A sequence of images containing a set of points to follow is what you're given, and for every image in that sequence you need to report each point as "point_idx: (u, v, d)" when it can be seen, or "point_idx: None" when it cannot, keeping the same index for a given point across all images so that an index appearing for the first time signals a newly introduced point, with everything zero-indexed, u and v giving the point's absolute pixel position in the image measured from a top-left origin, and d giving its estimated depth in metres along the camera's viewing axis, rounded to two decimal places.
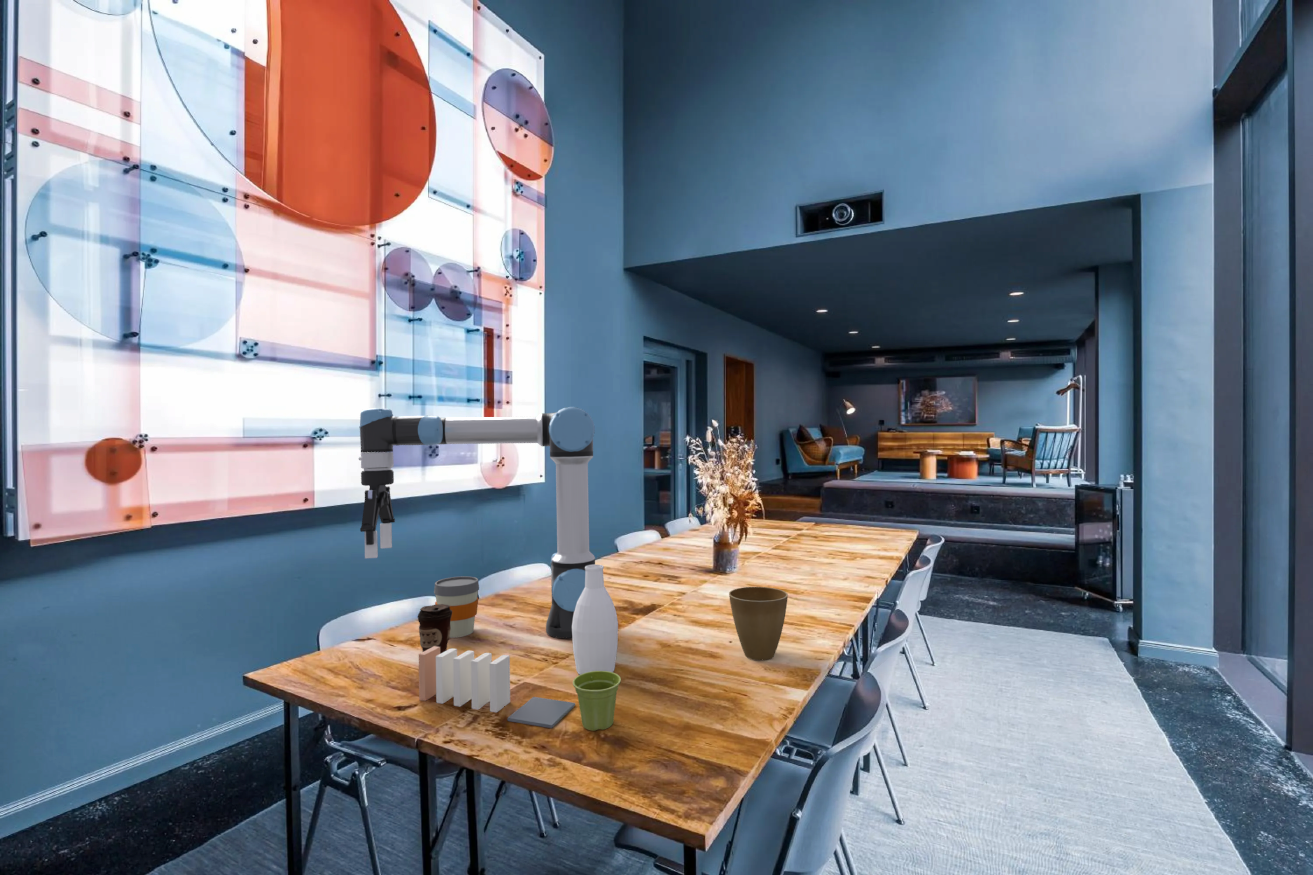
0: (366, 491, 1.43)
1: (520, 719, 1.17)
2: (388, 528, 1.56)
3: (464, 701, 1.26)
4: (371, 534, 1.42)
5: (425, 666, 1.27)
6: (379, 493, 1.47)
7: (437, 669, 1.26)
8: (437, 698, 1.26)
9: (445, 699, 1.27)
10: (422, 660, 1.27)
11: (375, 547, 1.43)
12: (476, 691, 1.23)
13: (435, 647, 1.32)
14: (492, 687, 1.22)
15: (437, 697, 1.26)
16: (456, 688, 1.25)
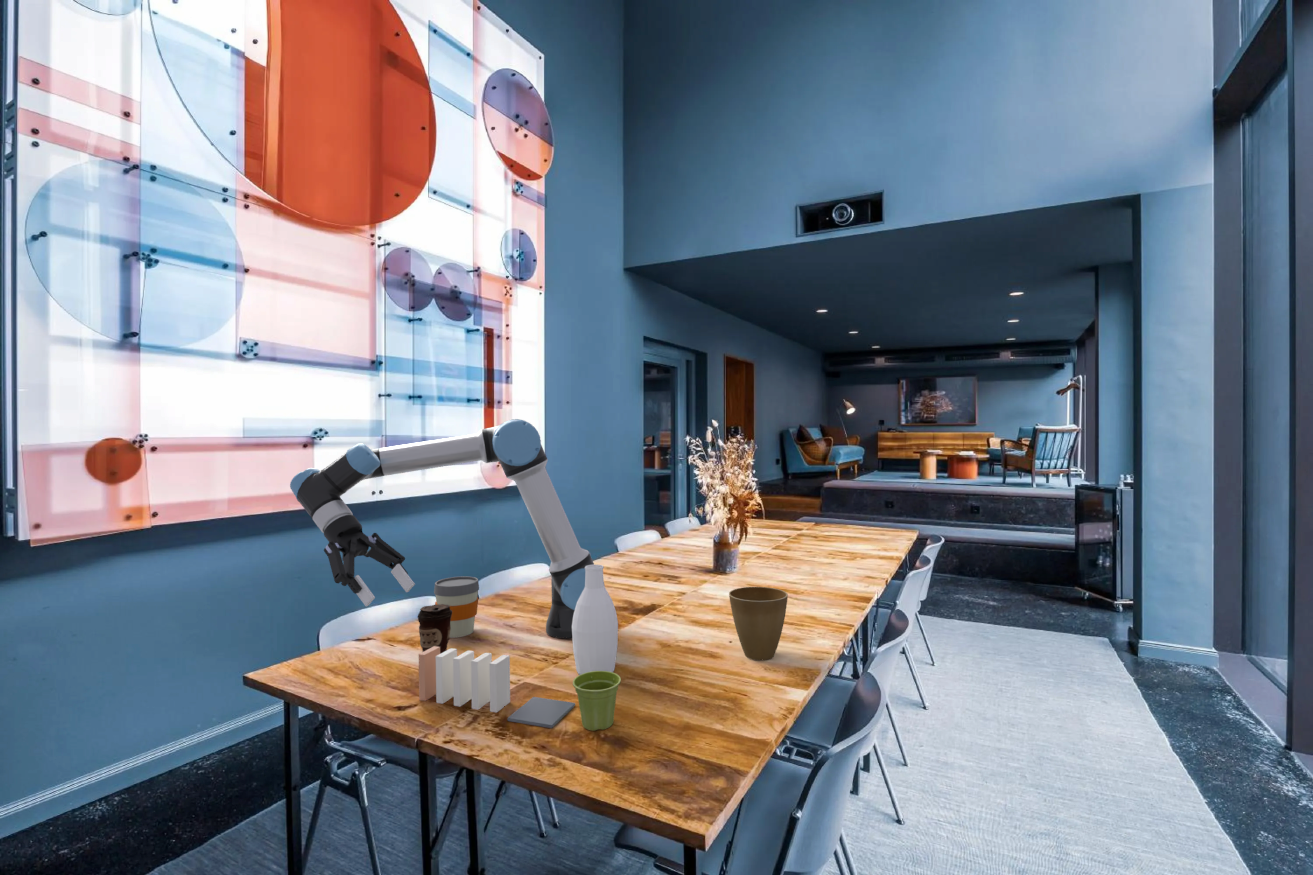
0: None
1: (520, 719, 1.17)
2: (398, 570, 1.40)
3: (464, 701, 1.26)
4: (351, 581, 1.27)
5: (425, 666, 1.27)
6: (345, 541, 1.34)
7: (437, 669, 1.26)
8: (437, 698, 1.26)
9: (445, 699, 1.27)
10: (422, 660, 1.27)
11: (365, 590, 1.27)
12: (476, 691, 1.23)
13: (435, 647, 1.32)
14: (492, 687, 1.22)
15: (437, 697, 1.26)
16: (456, 688, 1.25)
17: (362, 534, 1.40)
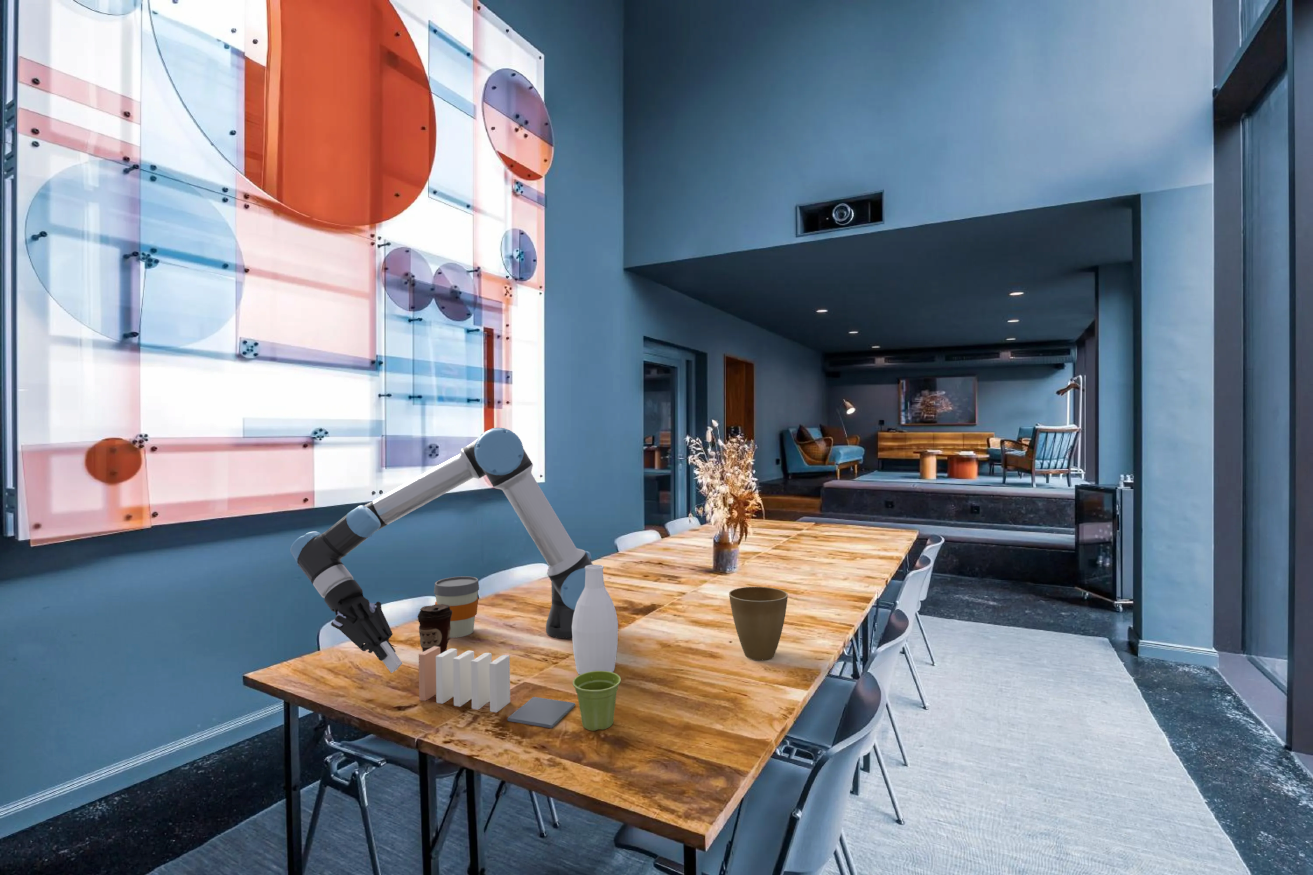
0: (332, 623, 1.31)
1: (520, 719, 1.17)
2: None
3: (464, 701, 1.26)
4: (377, 649, 1.32)
5: (425, 666, 1.27)
6: (345, 607, 1.34)
7: (437, 669, 1.26)
8: (437, 698, 1.26)
9: (445, 699, 1.27)
10: (422, 660, 1.27)
11: (390, 657, 1.32)
12: (476, 691, 1.23)
13: (435, 647, 1.32)
14: (492, 687, 1.22)
15: (437, 697, 1.26)
16: (456, 688, 1.25)
17: (365, 598, 1.40)
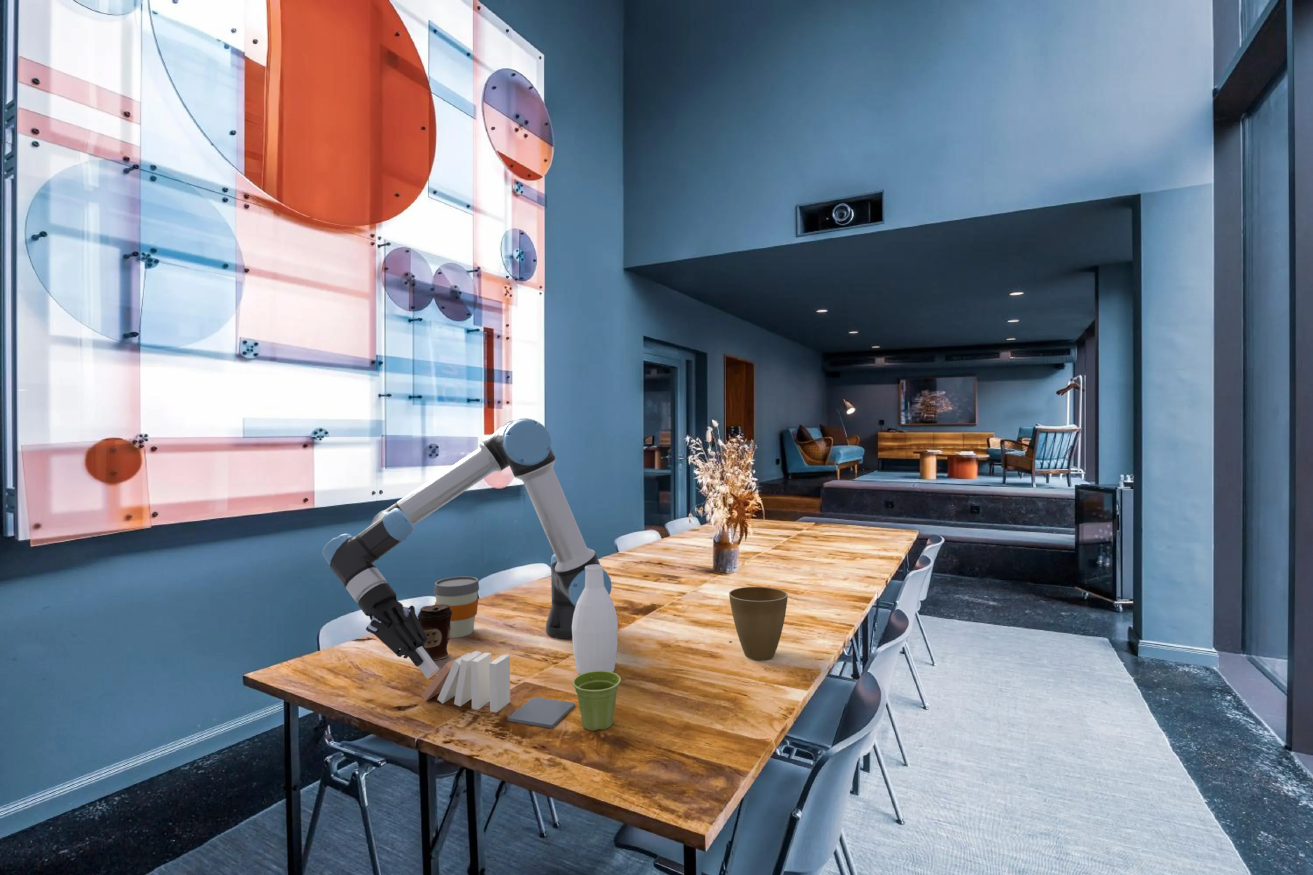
0: (367, 628, 1.27)
1: (520, 719, 1.17)
2: None
3: (464, 701, 1.26)
4: (413, 654, 1.29)
5: (444, 677, 1.26)
6: (380, 612, 1.31)
7: (450, 672, 1.25)
8: (439, 696, 1.26)
9: (446, 699, 1.27)
10: (445, 671, 1.25)
11: (426, 663, 1.29)
12: (476, 691, 1.23)
13: None
14: (492, 687, 1.22)
15: (439, 695, 1.26)
16: (459, 688, 1.24)
17: None
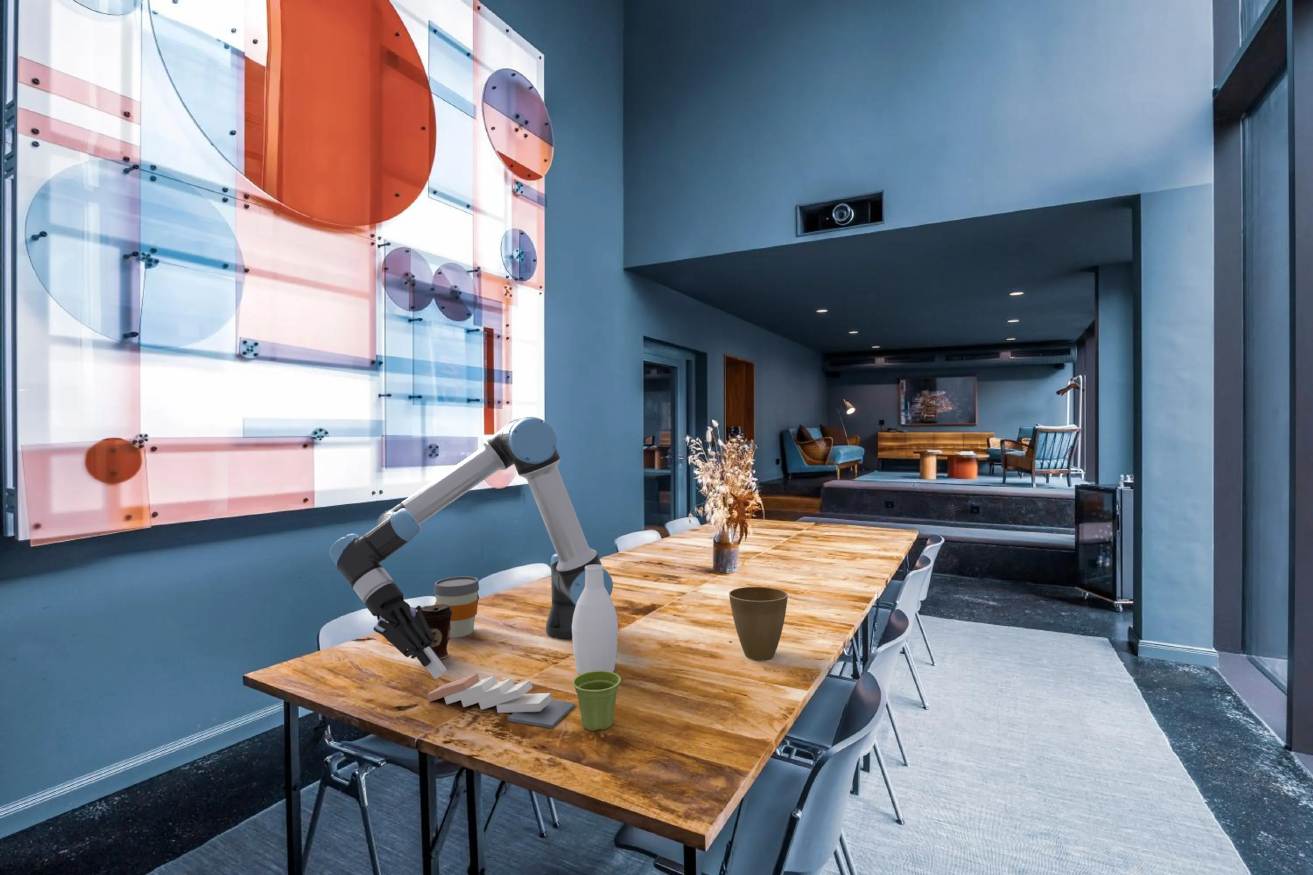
0: (374, 629, 1.27)
1: (520, 719, 1.17)
2: None
3: None
4: (420, 654, 1.28)
5: (456, 692, 1.25)
6: (387, 612, 1.30)
7: (471, 690, 1.23)
8: (447, 697, 1.25)
9: None
10: (459, 688, 1.24)
11: (434, 663, 1.28)
12: (494, 703, 1.21)
13: (476, 678, 1.28)
14: (518, 707, 1.20)
15: (448, 696, 1.25)
16: (475, 698, 1.23)
17: (405, 602, 1.36)
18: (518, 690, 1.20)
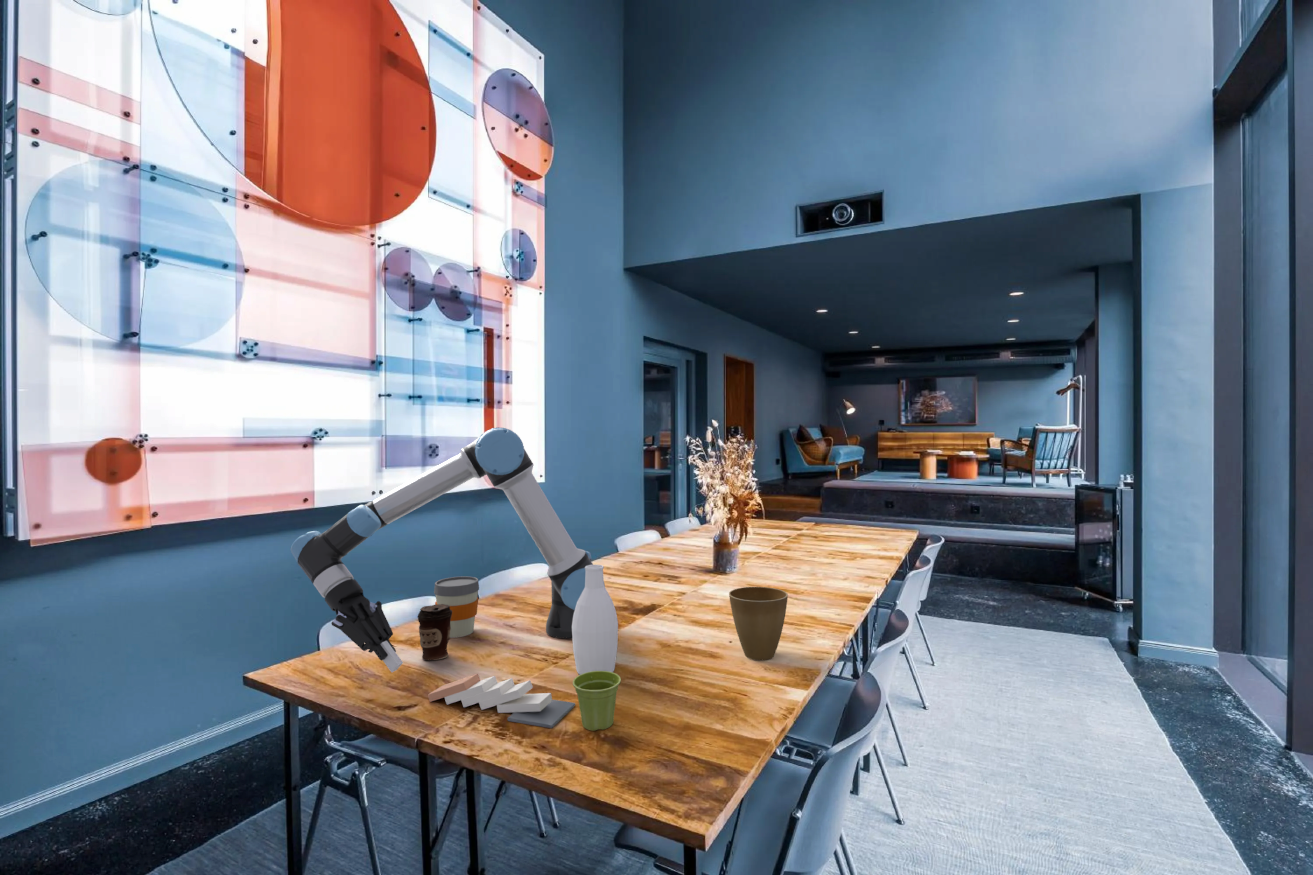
0: (332, 623, 1.31)
1: (520, 719, 1.17)
2: None
3: None
4: (377, 648, 1.32)
5: (457, 692, 1.25)
6: (346, 607, 1.34)
7: (471, 690, 1.23)
8: (448, 697, 1.25)
9: None
10: (460, 688, 1.24)
11: (391, 657, 1.32)
12: (495, 703, 1.21)
13: (477, 678, 1.28)
14: (518, 707, 1.20)
15: (449, 696, 1.25)
16: (476, 698, 1.23)
17: None
18: (518, 690, 1.20)
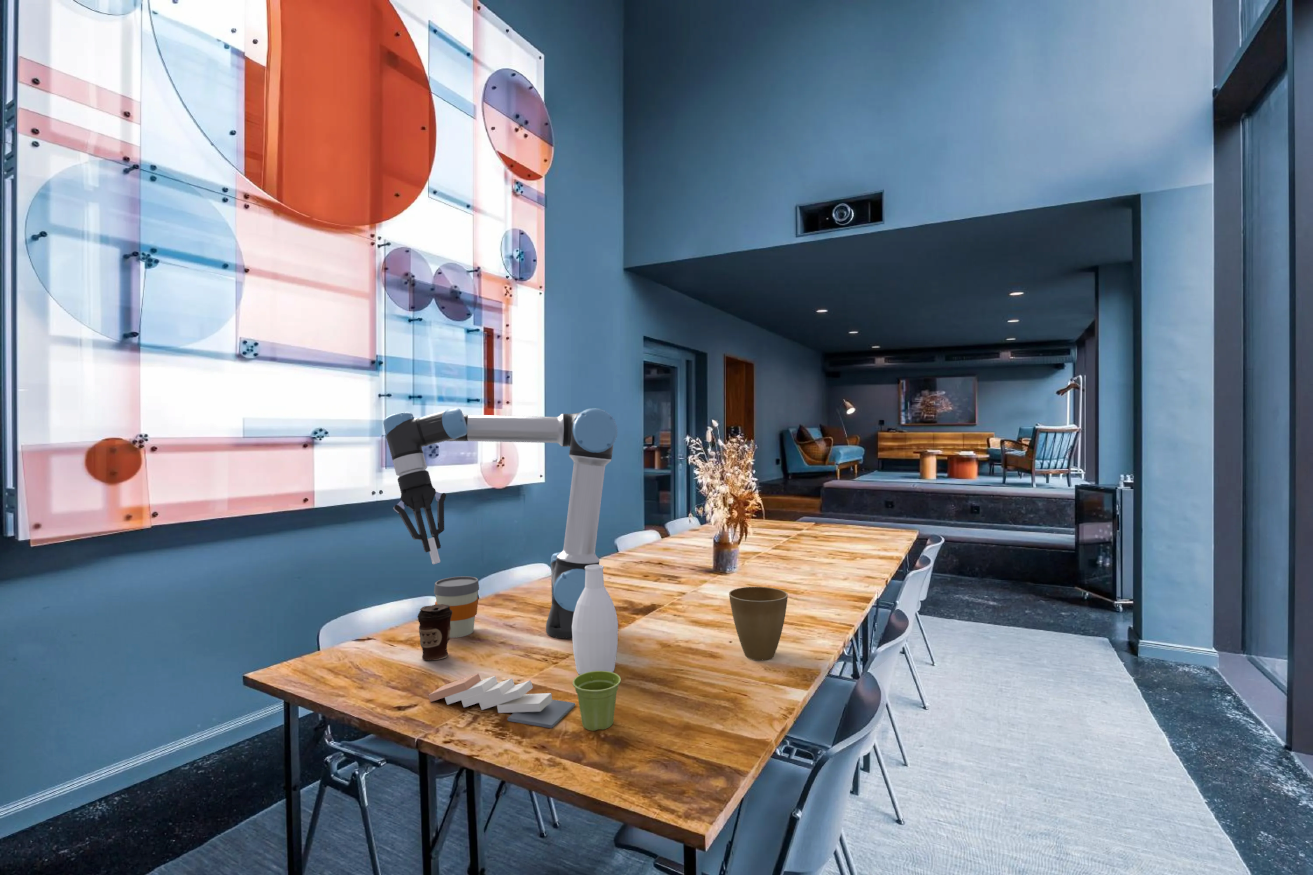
0: (393, 508, 1.46)
1: (520, 719, 1.17)
2: None
3: None
4: (423, 542, 1.47)
5: (457, 692, 1.25)
6: (407, 497, 1.47)
7: (471, 690, 1.23)
8: (448, 697, 1.25)
9: None
10: (460, 688, 1.24)
11: (431, 554, 1.47)
12: (495, 703, 1.21)
13: (478, 678, 1.28)
14: (518, 707, 1.20)
15: (449, 696, 1.25)
16: (476, 698, 1.23)
17: (432, 488, 1.50)
18: (518, 690, 1.20)
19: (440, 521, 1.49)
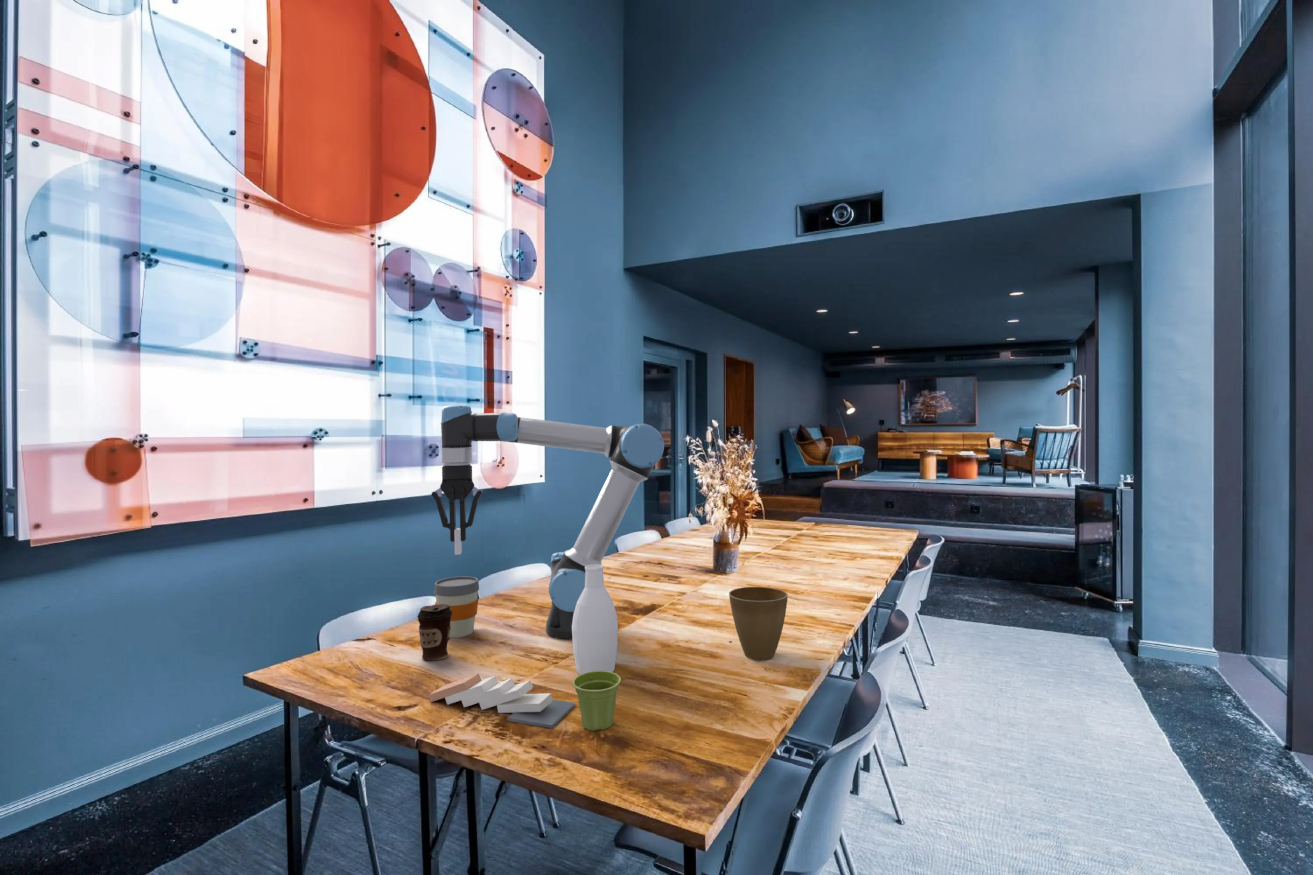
0: None
1: (520, 719, 1.17)
2: None
3: None
4: (450, 532, 1.54)
5: (458, 692, 1.25)
6: (445, 486, 1.53)
7: (471, 690, 1.23)
8: (448, 697, 1.25)
9: None
10: (461, 688, 1.24)
11: None
12: (495, 703, 1.21)
13: (478, 677, 1.28)
14: (518, 707, 1.20)
15: (449, 696, 1.25)
16: (476, 698, 1.23)
17: (470, 482, 1.54)
18: (518, 690, 1.20)
19: (470, 516, 1.54)
